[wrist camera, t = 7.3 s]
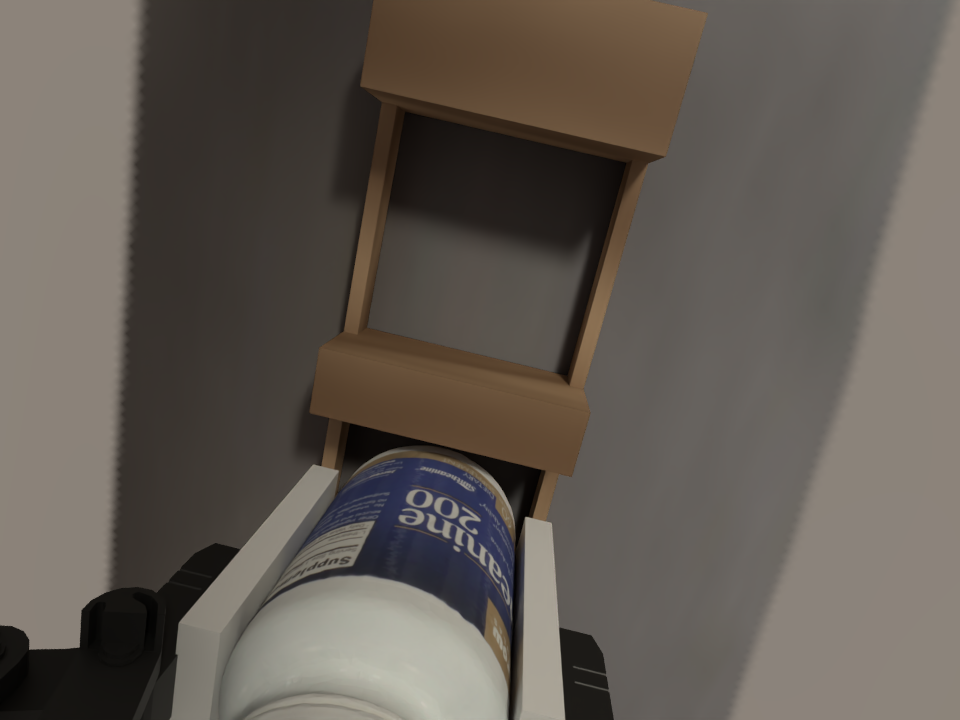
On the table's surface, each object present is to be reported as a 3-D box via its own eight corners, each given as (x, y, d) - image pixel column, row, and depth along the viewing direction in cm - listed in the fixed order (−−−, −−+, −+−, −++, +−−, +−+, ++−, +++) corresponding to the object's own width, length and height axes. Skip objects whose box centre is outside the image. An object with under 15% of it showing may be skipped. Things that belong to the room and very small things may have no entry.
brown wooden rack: (410, -9, 15) (383, -60, 12) (673, 50, 15) (707, 13, 12) (303, 621, 20) (266, 689, 18) (497, 670, 20) (492, 747, 17)
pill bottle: (553, 545, 17) (582, 948, 8) (412, 629, 18) (289, 1069, 9) (442, 403, 16) (326, 664, 7) (302, 501, 18) (40, 837, 8)
